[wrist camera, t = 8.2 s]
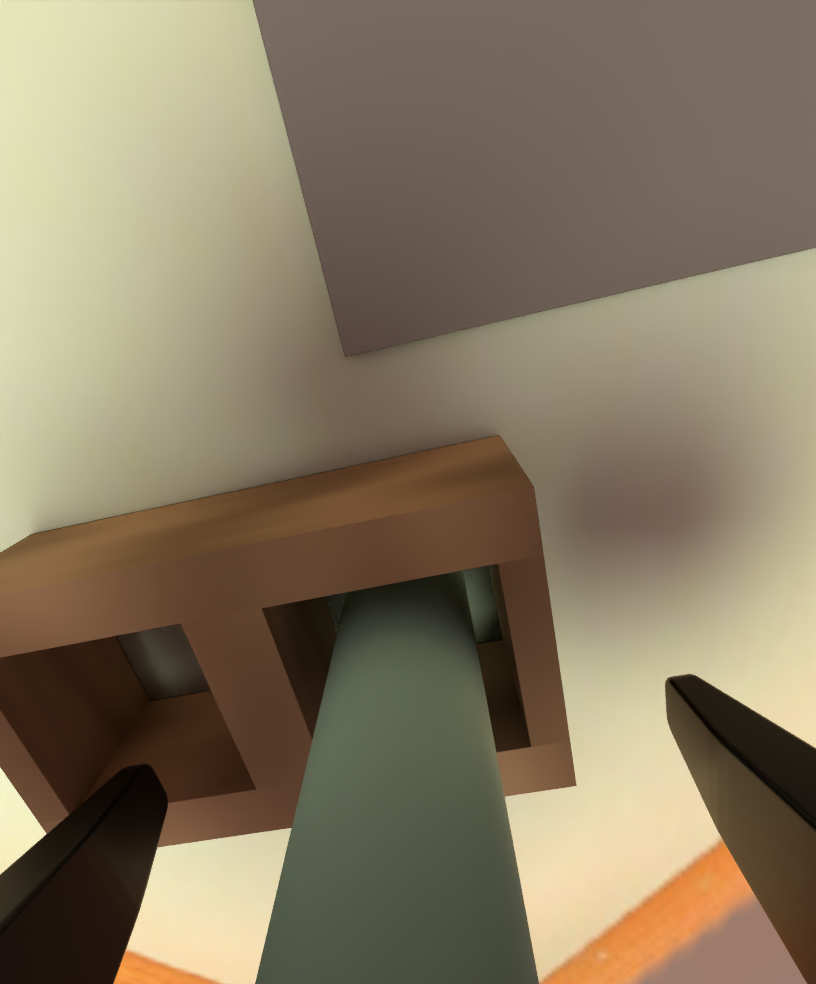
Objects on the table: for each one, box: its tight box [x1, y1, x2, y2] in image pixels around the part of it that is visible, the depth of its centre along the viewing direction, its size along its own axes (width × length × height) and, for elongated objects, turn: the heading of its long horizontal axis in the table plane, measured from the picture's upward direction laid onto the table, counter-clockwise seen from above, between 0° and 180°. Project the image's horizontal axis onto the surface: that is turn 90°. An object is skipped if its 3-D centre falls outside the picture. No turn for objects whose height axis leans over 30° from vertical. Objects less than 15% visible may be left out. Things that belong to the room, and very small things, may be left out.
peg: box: [255, 571, 539, 984], centre depth 9 cm, size 3×3×9 cm
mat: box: [253, 0, 816, 357], centre depth 9 cm, size 10×7×1 cm
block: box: [0, 435, 576, 847], centre depth 12 cm, size 12×7×4 cm, turn 103°
